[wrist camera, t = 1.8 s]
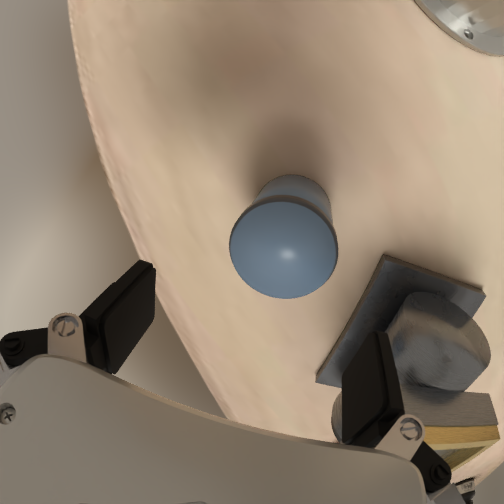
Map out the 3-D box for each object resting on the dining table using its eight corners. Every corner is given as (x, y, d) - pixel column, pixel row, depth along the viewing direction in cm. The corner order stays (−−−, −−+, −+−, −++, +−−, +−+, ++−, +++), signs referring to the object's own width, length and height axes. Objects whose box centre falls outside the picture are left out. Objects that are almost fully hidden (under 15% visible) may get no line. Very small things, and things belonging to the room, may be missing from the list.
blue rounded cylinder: (263, 163, 20) (239, 186, 14) (343, 187, 20) (355, 221, 14) (246, 235, 23) (219, 282, 17) (318, 257, 23) (316, 312, 17)
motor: (383, 254, 22) (428, 408, 9) (482, 290, 21) (543, 407, 8) (315, 375, 29) (301, 495, 17) (403, 392, 28) (413, 496, 16)
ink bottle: (479, 475, 43) (482, 505, 33) (464, 484, 47) (466, 513, 37) (457, 481, 45) (459, 513, 34) (442, 490, 49) (443, 519, 39)
